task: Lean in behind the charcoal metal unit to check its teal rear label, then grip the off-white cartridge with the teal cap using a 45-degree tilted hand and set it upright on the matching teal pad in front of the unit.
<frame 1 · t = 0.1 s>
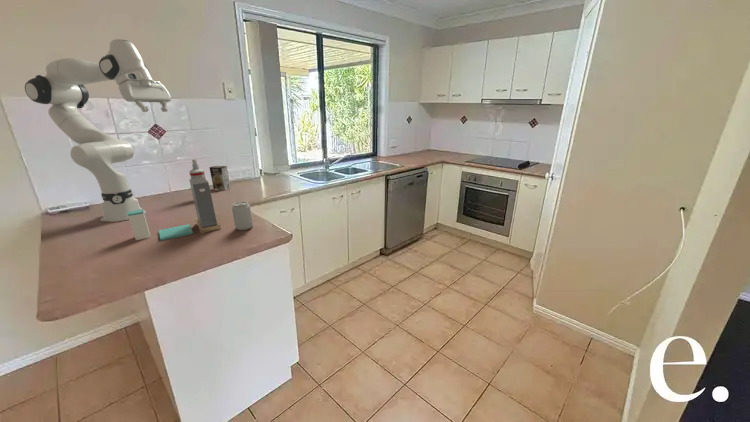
hand: (156, 111, 132), 52 cm above the countertop, tool tilted 20°, fingers open, 8 cm apart
can: (244, 228, 139), on the countertop
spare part: (143, 237, 131), on the countertop
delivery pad: (176, 232, 135), on the countertop
coffee box: (222, 189, 211), on the countertop
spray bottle: (202, 200, 186), on the countertop
mounted unit: (208, 226, 142), on the countertop
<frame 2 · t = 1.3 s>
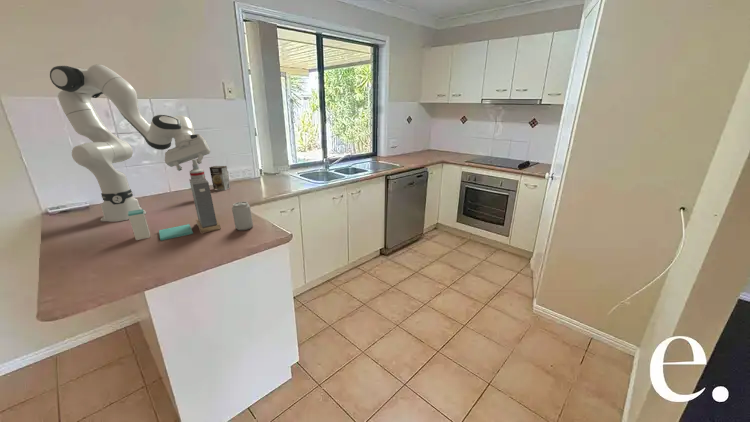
hand: (189, 166, 141), 27 cm above the countertop, tool tilted 45°, fingers open, 8 cm apart
nothing on the countertop moved.
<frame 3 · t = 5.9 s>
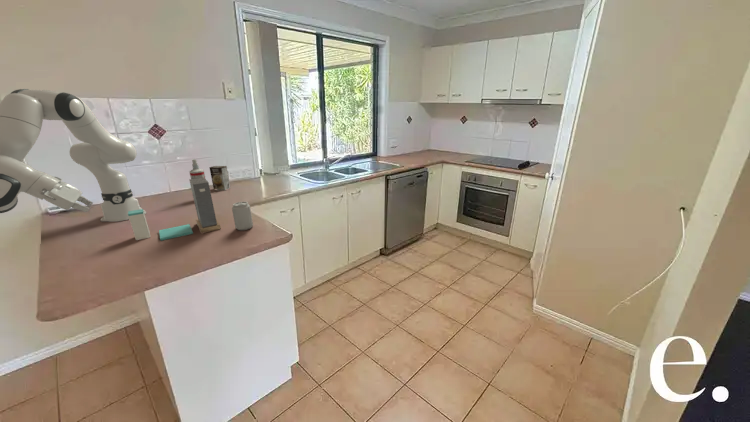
hand: (90, 207, 119), 16 cm above the countertop, tool tilted 45°, fingers open, 8 cm apart
nothing on the countertop moved.
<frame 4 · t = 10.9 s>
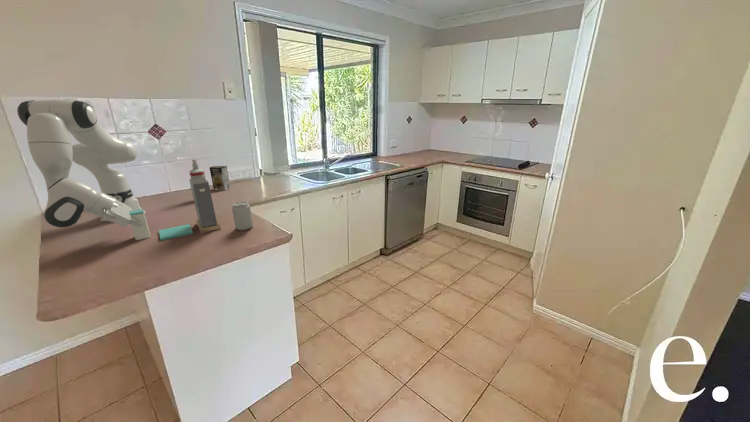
hand: (140, 223, 130), 6 cm above the countertop, tool tilted 45°, fingers closed on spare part, 5 cm apart
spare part: (143, 237, 131), on the countertop, touching gripper
everything else where it was.
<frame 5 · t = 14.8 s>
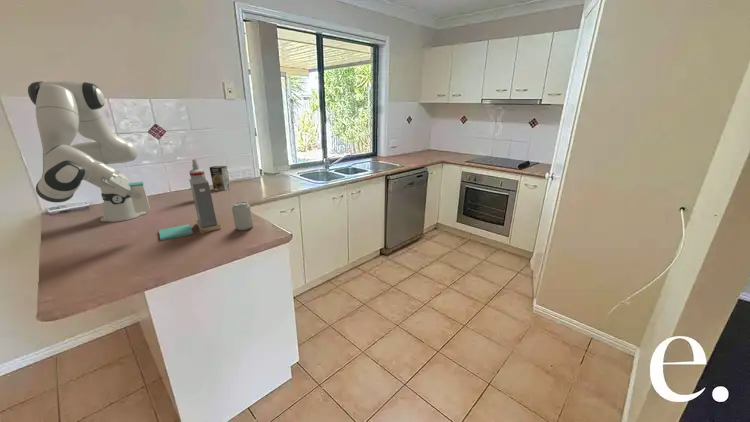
hand: (140, 195, 126), 18 cm above the countertop, tool tilted 45°, fingers closed on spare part, 5 cm apart
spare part: (143, 210, 128), point 12 cm above the countertop, touching gripper
everything else where it was.
when the fingers open (8 cm above the countertop, at t = 18.7 s): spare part stays where it is, resting on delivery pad.
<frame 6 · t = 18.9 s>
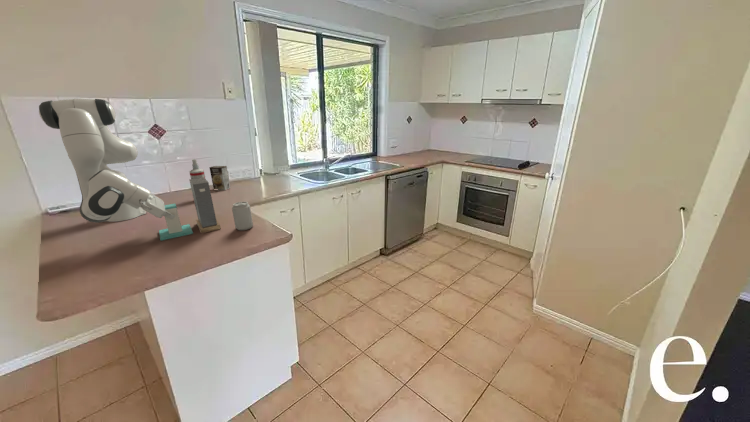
hand: (173, 215, 133), 8 cm above the countertop, tool tilted 45°, fingers open, 7 cm apart
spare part: (175, 230, 135), point 1 cm above the countertop, touching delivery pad
everything else where it was.
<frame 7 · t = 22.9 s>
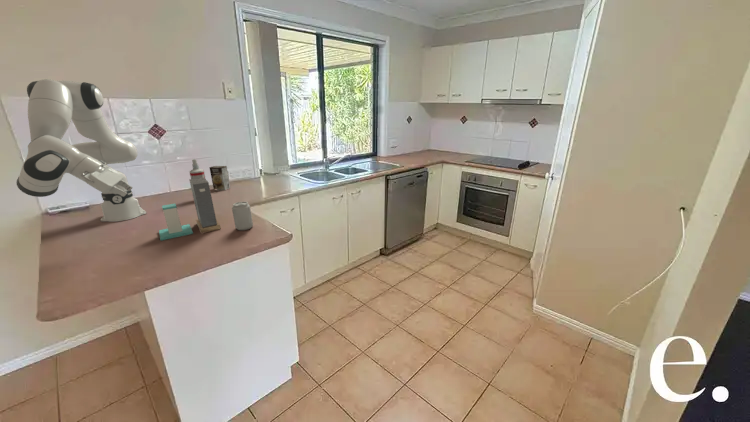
hand: (128, 192, 120), 22 cm above the countertop, tool tilted 45°, fingers open, 8 cm apart
nothing on the countertop moved.
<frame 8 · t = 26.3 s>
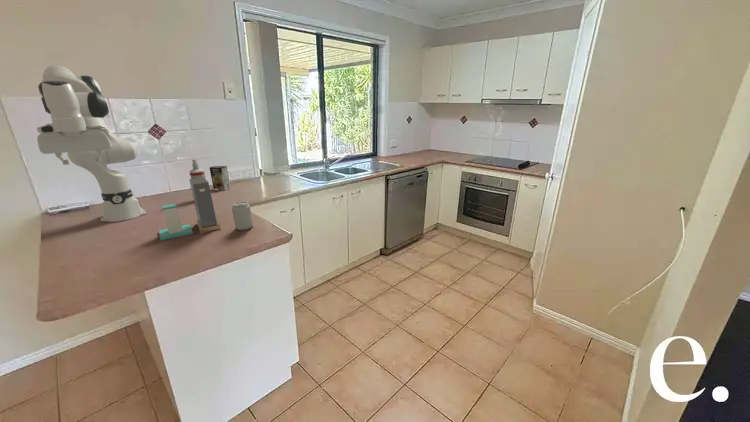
hand: (82, 163, 119), 33 cm above the countertop, tool pointing down, fingers open, 8 cm apart
nothing on the countertop moved.
at the end: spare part inside the target area on the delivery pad (0.1 cm from its centre), point 1.0 cm above the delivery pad's base; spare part tilted 0°; the gripper is holding nothing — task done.
